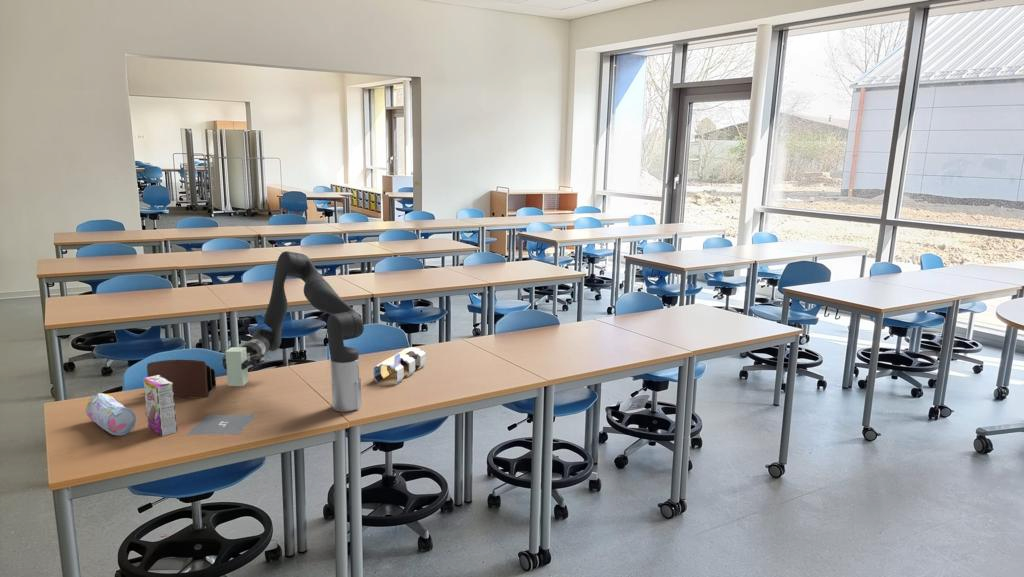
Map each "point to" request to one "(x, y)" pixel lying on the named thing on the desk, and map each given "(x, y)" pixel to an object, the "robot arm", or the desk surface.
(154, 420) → the candy bar box
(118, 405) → the pencil case
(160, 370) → the letter holder
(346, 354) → the robot arm
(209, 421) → the gray tile
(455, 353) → the desk surface
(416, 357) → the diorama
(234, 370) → the green block
